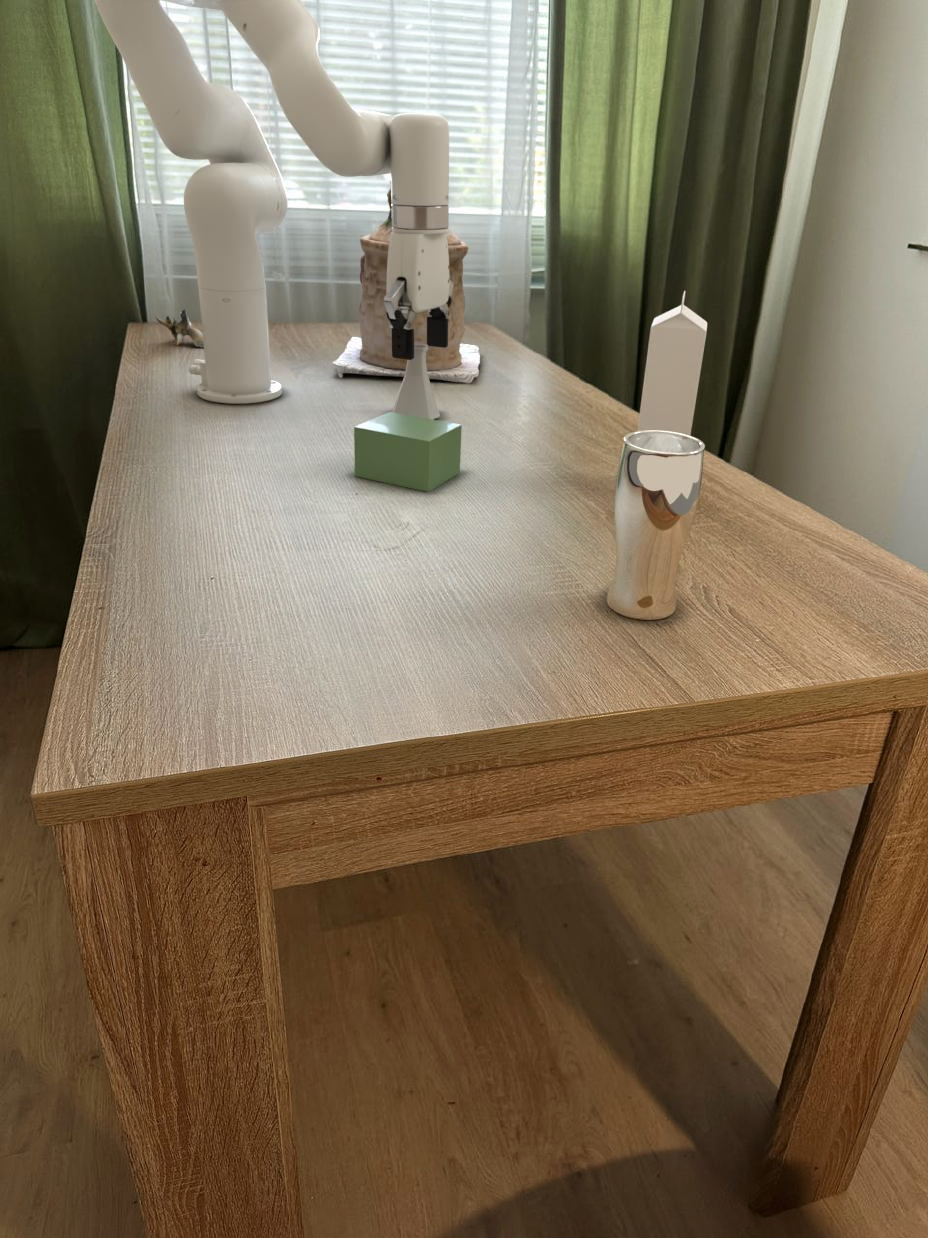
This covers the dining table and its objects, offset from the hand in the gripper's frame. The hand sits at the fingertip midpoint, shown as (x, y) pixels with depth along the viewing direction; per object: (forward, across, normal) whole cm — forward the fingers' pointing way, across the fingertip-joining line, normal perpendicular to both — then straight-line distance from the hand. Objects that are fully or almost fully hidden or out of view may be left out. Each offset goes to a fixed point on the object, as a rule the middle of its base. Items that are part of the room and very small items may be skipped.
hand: (420, 352), depth 129 cm
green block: (+9, +23, +11) cm, 27 cm away
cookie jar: (+9, -28, -18) cm, 34 cm away
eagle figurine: (+8, -18, -60) cm, 63 cm away
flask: (+9, 0, -1) cm, 9 cm away
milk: (+10, +10, +38) cm, 41 cm away
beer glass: (+10, +42, +46) cm, 63 cm away
